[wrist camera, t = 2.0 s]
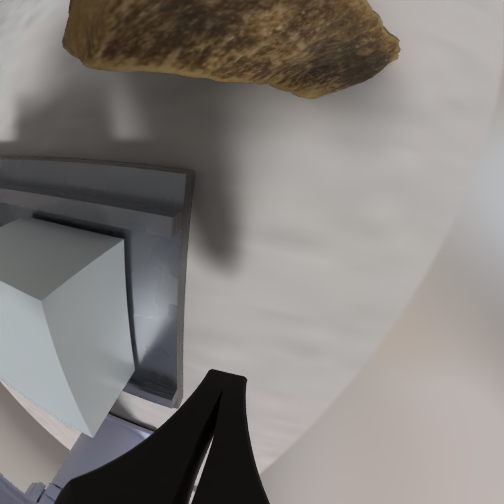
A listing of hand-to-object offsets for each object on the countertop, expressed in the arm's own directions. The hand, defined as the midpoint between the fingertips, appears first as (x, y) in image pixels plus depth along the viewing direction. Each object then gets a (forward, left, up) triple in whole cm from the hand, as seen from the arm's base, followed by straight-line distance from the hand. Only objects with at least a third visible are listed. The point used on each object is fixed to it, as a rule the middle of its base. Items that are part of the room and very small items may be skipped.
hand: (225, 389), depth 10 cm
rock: (+14, +2, -4) cm, 15 cm away
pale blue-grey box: (-1, +10, -3) cm, 10 cm away
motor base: (0, +16, -4) cm, 16 cm away
